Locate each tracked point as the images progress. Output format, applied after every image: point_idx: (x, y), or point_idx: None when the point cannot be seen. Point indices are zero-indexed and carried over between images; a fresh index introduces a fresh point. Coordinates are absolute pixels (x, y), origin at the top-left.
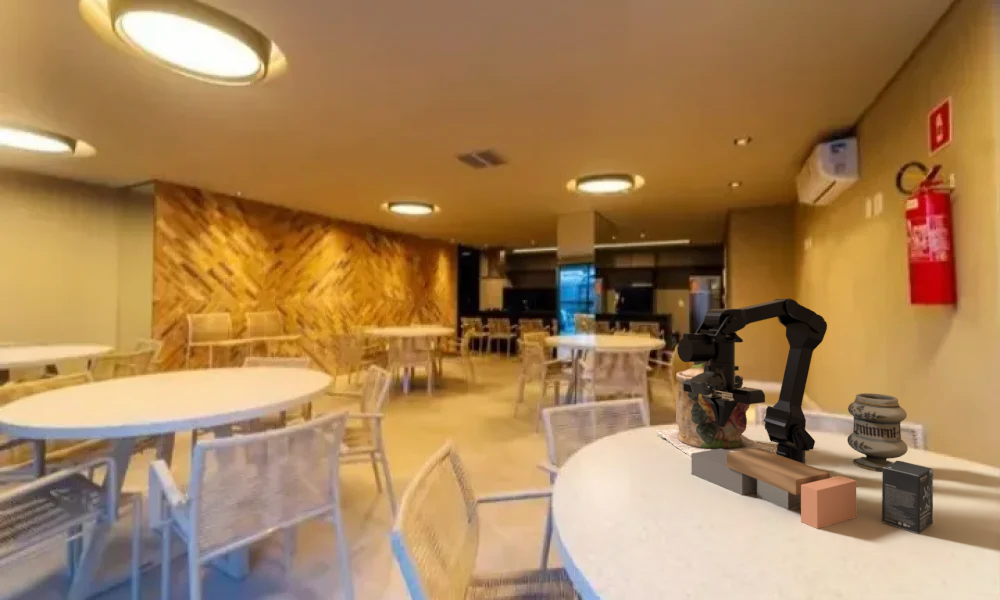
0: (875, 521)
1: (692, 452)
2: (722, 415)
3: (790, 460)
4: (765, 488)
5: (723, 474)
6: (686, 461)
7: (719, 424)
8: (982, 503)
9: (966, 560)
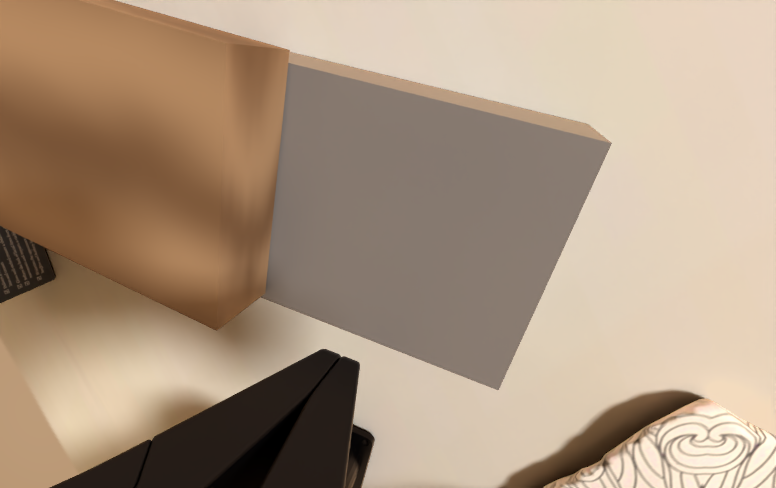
0: None
1: (714, 418)
2: (175, 430)
3: (55, 236)
4: None
5: (348, 72)
6: (708, 313)
7: (331, 366)
8: (62, 434)
9: None
